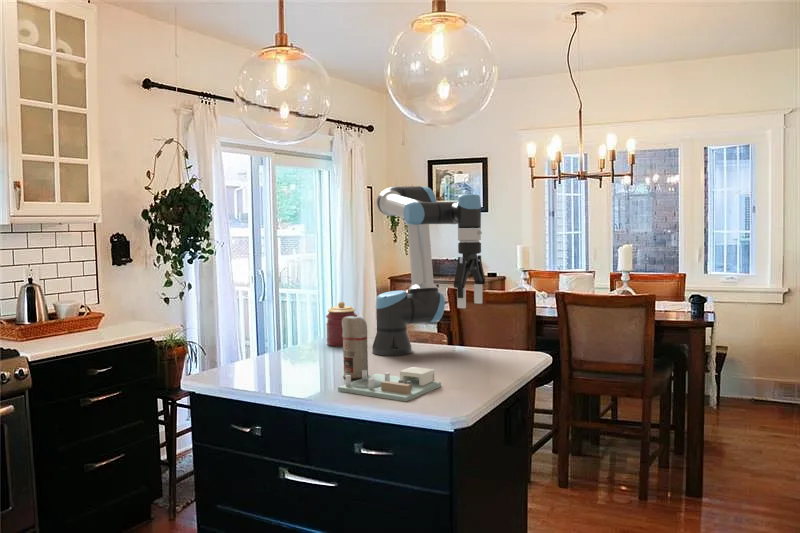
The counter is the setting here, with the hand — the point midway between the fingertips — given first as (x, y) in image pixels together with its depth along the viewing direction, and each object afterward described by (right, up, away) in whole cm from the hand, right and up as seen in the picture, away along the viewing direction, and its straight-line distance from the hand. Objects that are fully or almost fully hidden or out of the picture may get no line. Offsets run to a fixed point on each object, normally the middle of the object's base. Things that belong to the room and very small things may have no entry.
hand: (470, 305), depth 218 cm
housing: (-18, -22, -18) cm, 34 cm away
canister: (-47, -19, +55) cm, 75 cm away
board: (-26, -24, -20) cm, 40 cm away
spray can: (-38, -23, -4) cm, 44 cm away
